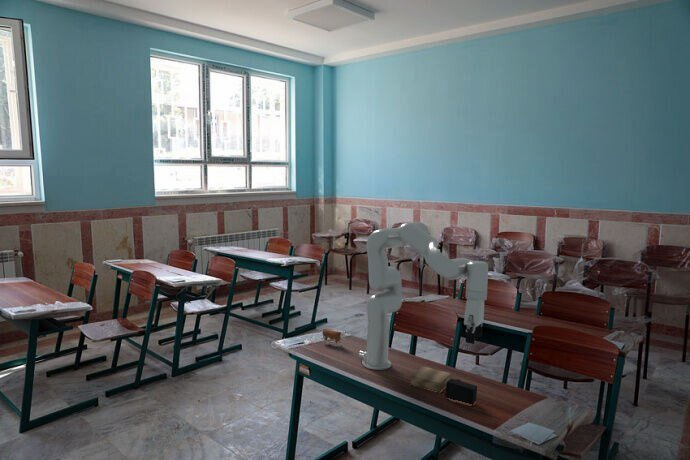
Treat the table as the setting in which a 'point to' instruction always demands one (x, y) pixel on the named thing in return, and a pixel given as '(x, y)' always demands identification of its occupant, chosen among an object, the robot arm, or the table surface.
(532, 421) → the table surface
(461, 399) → the digital camera
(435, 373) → the plinth
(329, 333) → the bull figurine
